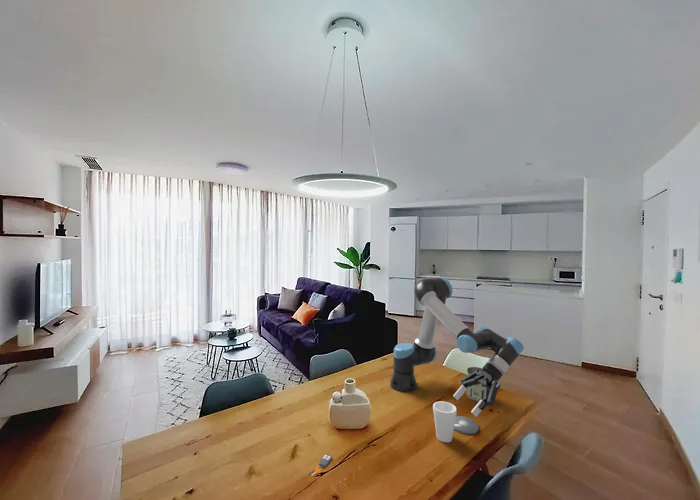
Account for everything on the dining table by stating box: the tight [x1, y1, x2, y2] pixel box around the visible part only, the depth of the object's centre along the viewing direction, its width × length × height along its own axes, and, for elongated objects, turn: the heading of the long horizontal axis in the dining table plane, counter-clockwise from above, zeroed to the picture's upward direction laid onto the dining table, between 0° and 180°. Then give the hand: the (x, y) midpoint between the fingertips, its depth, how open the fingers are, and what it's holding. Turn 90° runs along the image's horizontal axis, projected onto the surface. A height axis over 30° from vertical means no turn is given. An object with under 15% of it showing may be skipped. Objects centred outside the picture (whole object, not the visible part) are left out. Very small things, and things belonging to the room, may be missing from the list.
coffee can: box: [466, 366, 484, 402], centre depth 165 cm, size 10×10×14 cm
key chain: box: [311, 453, 333, 477], centre depth 110 cm, size 13×4×2 cm, turn 157°
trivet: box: [454, 415, 479, 435], centre depth 137 cm, size 12×12×1 cm
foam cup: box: [432, 400, 458, 443], centre depth 129 cm, size 10×9×13 cm
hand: (463, 405), depth 129 cm, fingers open, 13 cm apart
